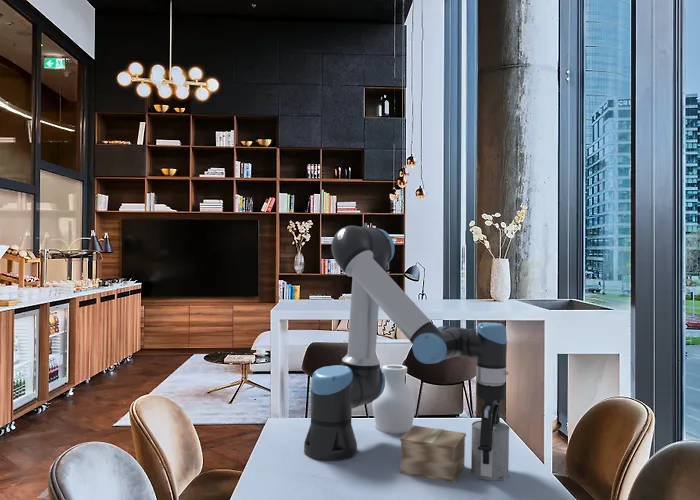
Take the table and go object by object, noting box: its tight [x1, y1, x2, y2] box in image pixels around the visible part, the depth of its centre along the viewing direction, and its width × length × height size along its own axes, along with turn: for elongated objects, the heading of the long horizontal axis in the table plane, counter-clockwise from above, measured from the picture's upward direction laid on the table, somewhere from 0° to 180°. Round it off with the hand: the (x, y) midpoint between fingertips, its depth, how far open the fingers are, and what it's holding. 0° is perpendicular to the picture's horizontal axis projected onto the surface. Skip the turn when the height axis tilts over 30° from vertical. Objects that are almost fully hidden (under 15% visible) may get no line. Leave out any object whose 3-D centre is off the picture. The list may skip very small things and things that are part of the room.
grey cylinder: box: [470, 420, 510, 482], centre depth 145 cm, size 10×10×12 cm
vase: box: [371, 364, 417, 435], centre depth 182 cm, size 14×14×20 cm
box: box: [400, 437, 466, 483], centre depth 147 cm, size 14×12×8 cm
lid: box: [399, 425, 467, 450], centre depth 147 cm, size 14×12×1 cm
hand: (489, 468), depth 145 cm, fingers closed on grey cylinder, 9 cm apart
